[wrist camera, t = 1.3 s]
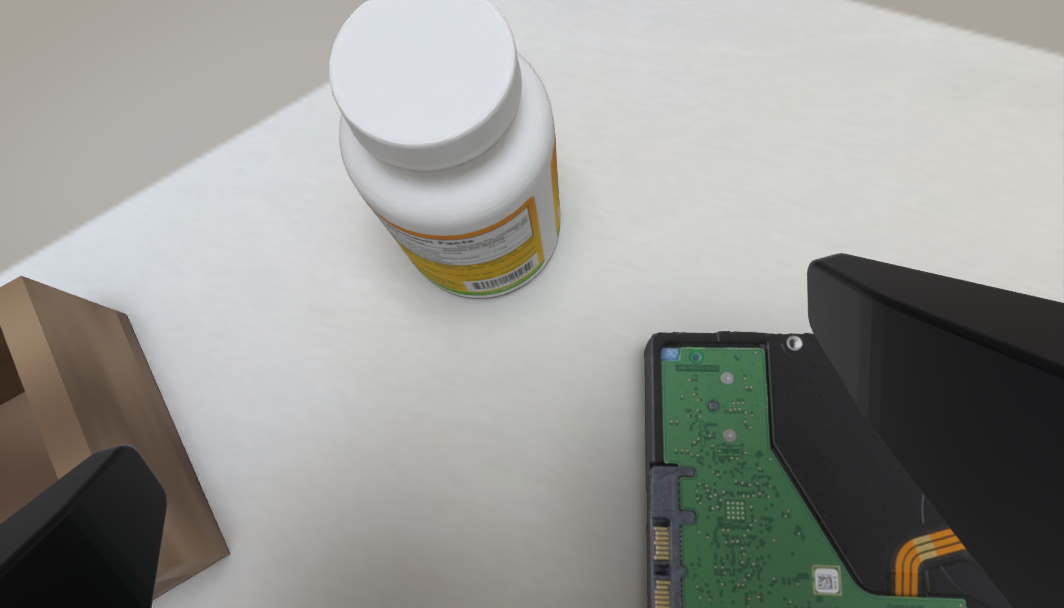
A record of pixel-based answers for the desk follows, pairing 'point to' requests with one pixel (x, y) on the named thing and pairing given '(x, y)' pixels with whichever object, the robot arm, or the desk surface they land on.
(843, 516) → the disk drive
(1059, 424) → the robot arm
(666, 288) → the desk surface
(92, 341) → the wooden box
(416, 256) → the supplement bottle
